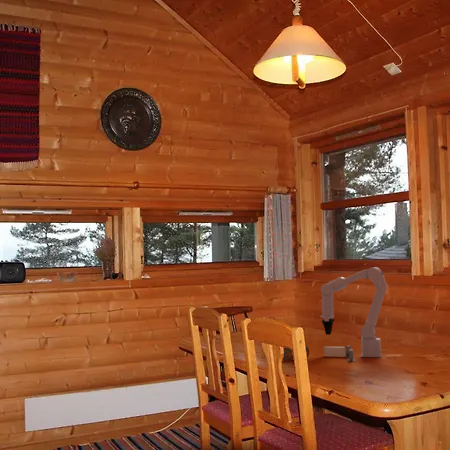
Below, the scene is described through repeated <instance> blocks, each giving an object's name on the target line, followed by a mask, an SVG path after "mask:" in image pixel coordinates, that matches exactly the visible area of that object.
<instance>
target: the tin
mask: <svg viewBox="0 0 450 450" xmlns="http://www.w3.org/2000/svg"><path fill="white" fill-rule="evenodd" d="M306 351H307V359H308V357H309V355H310V349H309V346H307V345H306ZM282 360H284V361H289V360H293V355H292V350H291V349H289V348H284V358H283V359H282Z"/></svg>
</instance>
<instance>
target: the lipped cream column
mask: <svg viewBox="0 0 450 450" xmlns="http://www.w3.org/2000/svg"><path fill="white" fill-rule="evenodd" d="M323 356H324V357H343V358H345V356H346V346H327V345H324V346H323Z"/></svg>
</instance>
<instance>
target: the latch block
mask: <svg viewBox="0 0 450 450" xmlns="http://www.w3.org/2000/svg"><path fill="white" fill-rule="evenodd" d="M355 361H356V359H355V358H354V349H352V348H351V349H350V350H349V358H348V359H347V362H354V363H355Z"/></svg>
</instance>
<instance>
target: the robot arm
mask: <svg viewBox="0 0 450 450" xmlns="http://www.w3.org/2000/svg"><path fill="white" fill-rule="evenodd" d="M360 279H365V280H367V279H369V280H370V281H371V282H372V283H373V285H374V286H375V288H376V289H375V292H374V296H373V299H372V302H371V305H370V309H369V311H368V315H367V318H366V320H365V323H364V324H363V326H362V327H361V329H360V333H361V337H360V338H361V355H360V357H361V358H381V357H382V353H383V352H382V346H381V345H382V344H381V343H382V341H381V338H380V337H378V338H377V336H376V335H375V334H376V333H377V322H378V318H379V314H380V312H381V309H382V305H383V301H384V298H385V295H386V293H387V288H388V284H387V281H386V278H385V274H384V272H383V271H382V270H381V269H380V268H379V267H378V266H374V267H370V268H367V269H363V270H360V271H357V272H356V273H354V274H352V275H349V276H347V277H343V276H341V277H340V276H338V277H336V279H333V280H329V281H328V283H324V284H322V285H321V286H320V293H321V313H322V314H321V315H319V318H322V320H321V323H322V325H323V328H324V332H325V335H326V336H329V335H331V334H332V331H333V325H334V322H335V319H334V318H335V313H334V311H335V310H334V294H333V293H337V292H338V291H341V290H343V289H345V288H347V287H348V284H351V283H353V282H356V281H357V280H360Z"/></svg>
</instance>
